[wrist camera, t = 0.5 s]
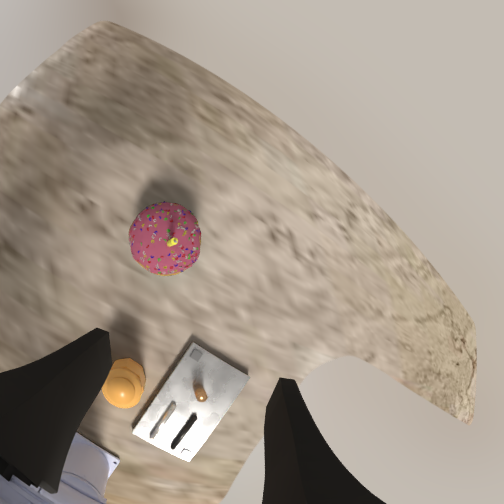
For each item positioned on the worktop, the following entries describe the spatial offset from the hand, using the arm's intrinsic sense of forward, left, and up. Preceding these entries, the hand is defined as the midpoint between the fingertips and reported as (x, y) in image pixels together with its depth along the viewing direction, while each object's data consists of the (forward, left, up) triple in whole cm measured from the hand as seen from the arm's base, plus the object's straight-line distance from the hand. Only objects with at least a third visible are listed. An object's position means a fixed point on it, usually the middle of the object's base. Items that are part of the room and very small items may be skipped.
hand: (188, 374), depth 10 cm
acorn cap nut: (-10, +1, -25) cm, 27 cm away
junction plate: (-9, -8, -25) cm, 28 cm away
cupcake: (+7, +6, -25) cm, 27 cm away
